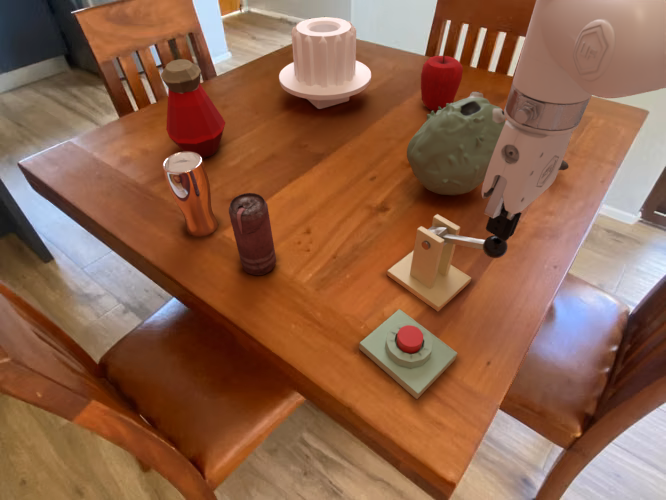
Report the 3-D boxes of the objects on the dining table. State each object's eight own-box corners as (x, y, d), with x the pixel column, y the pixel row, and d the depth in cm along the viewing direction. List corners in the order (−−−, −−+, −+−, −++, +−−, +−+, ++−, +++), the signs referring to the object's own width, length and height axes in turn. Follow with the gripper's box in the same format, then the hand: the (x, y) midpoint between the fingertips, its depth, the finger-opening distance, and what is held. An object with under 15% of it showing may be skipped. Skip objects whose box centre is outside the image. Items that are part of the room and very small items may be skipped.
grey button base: (455, 359, 63) (460, 346, 61) (416, 399, 59) (419, 387, 56) (398, 315, 69) (400, 301, 66) (359, 349, 65) (359, 335, 62)
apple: (461, 114, 114) (472, 62, 105) (423, 117, 113) (431, 65, 104) (448, 96, 122) (457, 46, 112) (412, 99, 121) (419, 48, 111)
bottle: (231, 162, 100) (213, 77, 86) (171, 170, 98) (142, 84, 84) (228, 128, 111) (212, 48, 97) (175, 134, 109) (150, 53, 95)
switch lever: (513, 252, 60) (510, 232, 58) (501, 264, 58) (497, 244, 57) (438, 239, 70) (434, 221, 68) (425, 248, 68) (421, 231, 67)
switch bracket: (470, 282, 73) (486, 231, 65) (437, 312, 69) (451, 261, 61) (419, 249, 79) (428, 198, 71) (386, 275, 75) (392, 224, 67)
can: (237, 275, 75) (221, 214, 65) (248, 250, 80) (234, 189, 70) (270, 279, 75) (259, 218, 65) (280, 253, 79) (271, 192, 69)
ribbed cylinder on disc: (306, 129, 110) (301, 53, 97) (267, 91, 126) (258, 21, 112) (387, 105, 118) (393, 31, 105) (341, 72, 134) (341, 5, 120)
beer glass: (199, 211, 88) (179, 147, 77) (227, 221, 86) (211, 156, 75) (176, 232, 83) (152, 167, 73) (205, 243, 81) (184, 177, 71)
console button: (426, 342, 62) (428, 336, 60) (410, 358, 60) (412, 351, 59) (407, 327, 64) (408, 320, 62) (391, 342, 62) (392, 335, 61)
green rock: (390, 178, 95) (398, 90, 80) (464, 159, 99) (484, 73, 85) (426, 222, 84) (443, 130, 70) (506, 199, 89) (538, 108, 75)
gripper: (543, 146, 39) (492, 277, 52) (612, 92, 46) (552, 220, 59) (472, 116, 43) (442, 246, 56) (546, 71, 50) (504, 195, 63)
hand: (498, 232), depth 58 cm, fingers closed
